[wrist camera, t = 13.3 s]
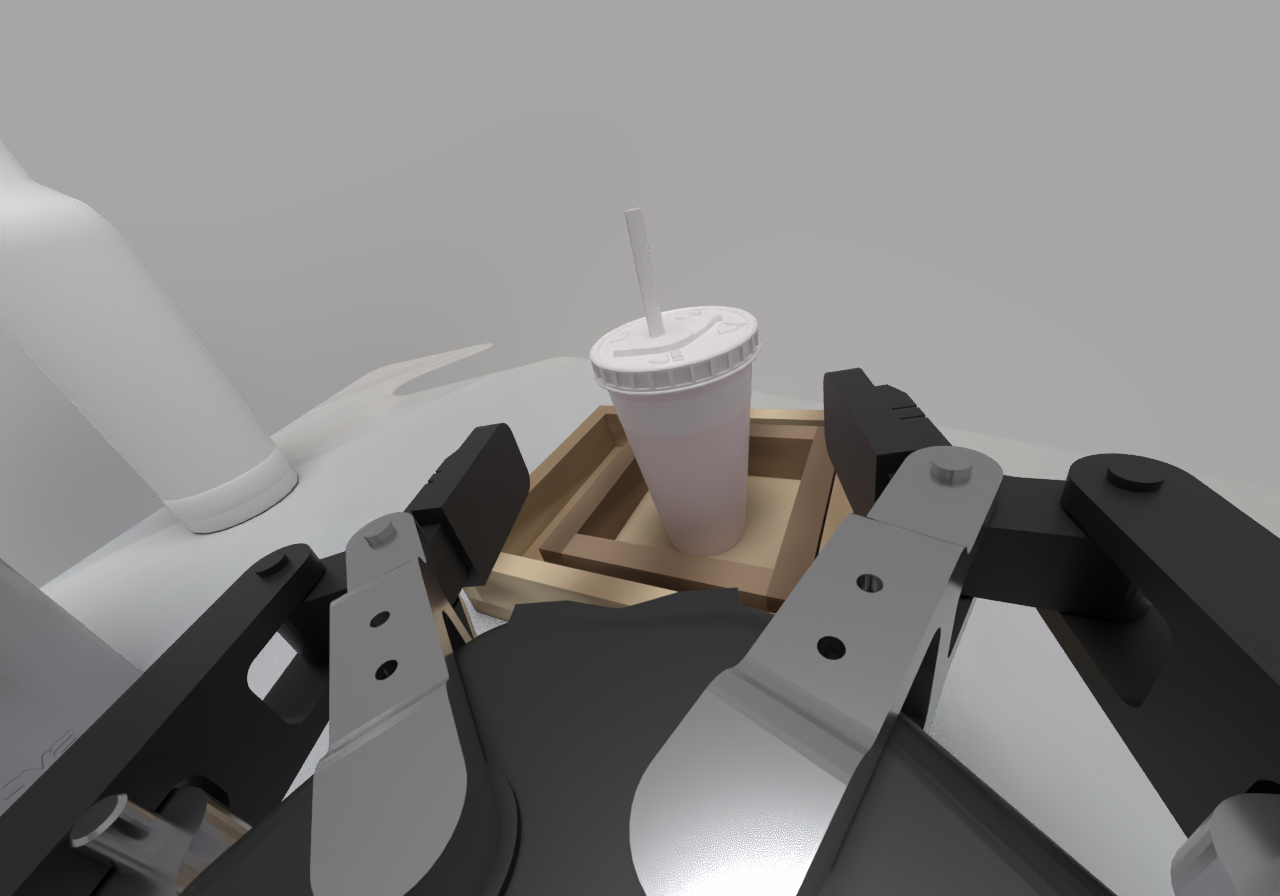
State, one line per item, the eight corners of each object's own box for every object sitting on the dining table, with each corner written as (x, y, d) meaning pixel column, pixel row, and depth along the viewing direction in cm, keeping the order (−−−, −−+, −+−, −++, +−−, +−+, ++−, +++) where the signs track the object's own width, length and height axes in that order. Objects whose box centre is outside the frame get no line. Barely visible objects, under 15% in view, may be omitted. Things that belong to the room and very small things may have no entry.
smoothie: (619, 522, 24) (530, 230, 17) (722, 471, 26) (681, 188, 19) (684, 605, 19) (594, 232, 12) (807, 533, 21) (794, 174, 14)
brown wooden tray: (476, 611, 23) (445, 558, 21) (613, 450, 33) (600, 405, 31) (835, 724, 15) (835, 656, 13) (869, 469, 25) (871, 411, 23)
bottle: (308, 462, 43) (14, 41, 28) (290, 505, 36) (-108, -14, 21) (209, 498, 41) (-166, 66, 26) (171, 551, 34) (-362, 13, 19)
